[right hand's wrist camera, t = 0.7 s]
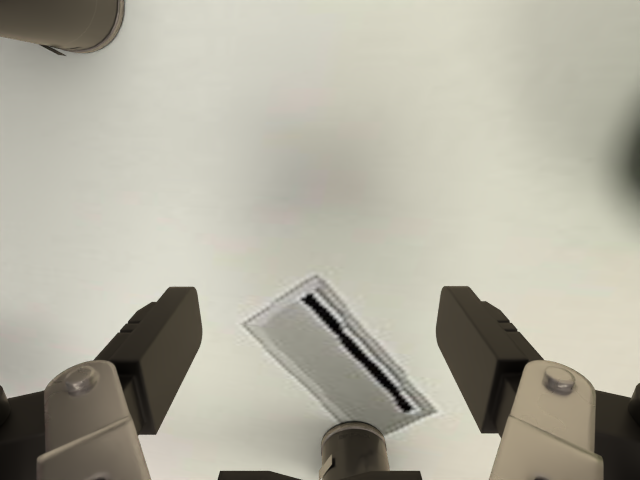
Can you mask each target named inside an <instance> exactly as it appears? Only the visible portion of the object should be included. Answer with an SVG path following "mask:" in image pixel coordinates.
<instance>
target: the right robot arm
mask: <svg viewBox="0 0 640 480" xmlns="http://www.w3.org/2000/svg"><path fill="white" fill-rule="evenodd" d="M436 338H437V343H438V346H439V348H440V350H441V352H442V354H443V356H444V358H445V360H446V363H447V365H448V367H449V369H450V371H451V373H452V375H453V377H454V379H455V381H456V383H457V385H458V387H459V389H460V391H461V393H462V395H463V397H464V399H465V401H466V403H467V405H468V407H469V409H470V411H471V413H472V415H473V417H474V419H475V421H476V423H477V425H478V427H479V430H480V432H481V433H499V435H500V437H501V442H500V445H499V448H498V452H497V455H496V458H495V461H494V465H493V468H492V471H491V474H490V478H489V480H640V383H639V384H638V385H637V386H636V388H635V391H634V393H633V395H632V398H630V397H625V396H620V395H616V394H611V393H607V392H602V391H597V390H595V389H594V387H593V385H592V384H591V383H590V382H589V381H588V380H587V379H586V378H585V377H584V376H583V375H581V374H580V373H578V372H577V371H575V370H573V369H571V368H569V367H567V366H565V365H562V364H559V363H556V362H552V361H546V360H544V359H543V358H542V357H541V356H540V355H539V354H538V352H537V351H536V350H535V349H534V348H533V347H532V346H531V344H530V343H529V342H528V341H527V340H526V339H525V338H524V337H523V335H522V334H521V333H520V332H517V329H516V327H515V326H514V325H513V324H512V323H510V321H509V320H508V318H507V317H506V316H505V315H504V314H503V313H502V312H501V310H499V309H497V308H496V307H494V306H493V305H491V304H489V303H488V302H486V301H480V299H479V298H478V297H477V296H476V295H475V293H474V292H473V291H472V290H471V288H470V287H468V286H444V287H443V288H442V291H441V296H440V303H439V310H438V317H437V324H436ZM201 340H202V323H201V316H200V309H199V302H198V295H197V291H196V289H195V287H169V288H168V289H167V290H166V291H165V293H164V294H163V295H162V296H161V297H160V299H159V300H158V301H157V302H151V303H150V304H148V305H146V306H145V307H143V308H141V309H140V310H138V311H137V312H136V313H135V314H134V315H133V316H132V318H131V319H130V320H129V321H128V324H125V325H124V327H123V328H122V329H121V330H120V333H117V334H116V336H115V337H114V338H113V339H112V340H111V341H110V342H109V343H108V345H107V346H106V347H105V348H104V349H103V350H102V351H101V352H100V354H99V355H98V356H97V357H96V358H95V359H94V360H93V361H88V362H84V363H81V364H78V365H75V366H73V367H71V368H69V369H67V370H65V371H63V372H62V373H60V374H59V375H57V376H56V377H55V378H54V379H53V380H52V381H51V382H50V383H49V384H48V385H47V387H46V389H45V390H44V391H40V392H36V393H31V394H27V395H22V396H18V397H13V398H8V399H7V397H6V395H5V393H4V390H3V388H2V386H1V385H0V480H151V478H150V474H149V471H148V468H147V465H146V461H145V458H144V455H143V452H142V448H141V445H140V442H139V439H138V435H156V434H157V432H158V430H159V428H160V426H161V424H162V422H163V420H164V418H165V416H166V414H167V412H168V410H169V408H170V406H171V404H172V402H173V400H174V397H175V395H176V393H177V391H178V389H179V387H180V385H181V383H182V381H183V379H184V377H185V375H186V373H187V371H188V369H189V367H190V365H191V363H192V361H193V359H194V357H195V355H196V353H197V351H198V349H199V347H200V344H201ZM386 451H387V450H386V444H385V439H384V437H383V435H382V434H381V432H380V431H379V430H377V429H376V428H374V427H373V426H370V425H368V424H364V423H357V422H352V423H345V424H341V425H338V426H336V427H334V428H332V429H331V430H330V431H328V432H327V433H326V435H325V436H324V438H323V440H322V444H321V454H322V468H321V469H320V470H319V480H320V479H321V478H322V480H422V477H421V473H420V471H390V468H389V463H388V458H387V453H386ZM218 480H301V479H297V478H293V477H290V476H286V475H282V474H279V473H275V472H271V471H220V473H219V477H218Z"/></svg>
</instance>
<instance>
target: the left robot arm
mask: <svg viewBox="0 0 640 480" xmlns="http://www.w3.org/2000/svg"><path fill="white" fill-rule="evenodd" d="M123 12H124V0H0V36H1V37H6V38H11V39H16V40H20V41H25V42H30V43H35V44H39V45H41V46H43V47H45V48H47V49H49V50H50V51H52V52H54V53H56V54H58V55H64V54H62V53H60V52H58V51H57V50H55V49H53V48H51V47H54V48H58V49H62V50H65V51H70V52H75V53H90V52H94V51H97V50H99V49H101V48H103V47H105V46H106V45H107V44H109V43H110V42H111V41H112V40H113V38H114V37H115V36H116V34H117V32H118V30H119V28H120V26H121V22H122V19H123ZM49 46H50V47H49ZM64 56H66V55H64Z"/></svg>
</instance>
